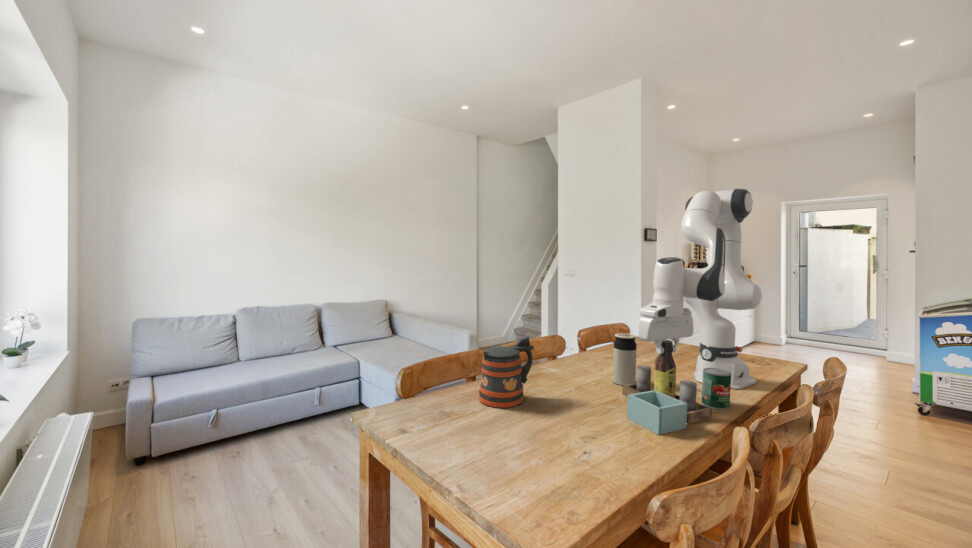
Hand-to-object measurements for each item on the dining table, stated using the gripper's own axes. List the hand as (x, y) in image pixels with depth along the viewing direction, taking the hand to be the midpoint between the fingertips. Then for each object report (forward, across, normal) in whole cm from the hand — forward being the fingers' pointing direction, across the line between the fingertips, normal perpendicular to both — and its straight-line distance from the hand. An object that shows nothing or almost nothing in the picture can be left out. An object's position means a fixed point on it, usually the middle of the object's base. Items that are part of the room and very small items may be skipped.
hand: (666, 352), depth 126 cm
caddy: (+17, +13, +9) cm, 23 cm away
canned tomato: (+17, -16, +6) cm, 24 cm away
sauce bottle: (+16, 0, 0) cm, 16 cm away
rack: (+17, 0, 0) cm, 17 cm away
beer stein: (+17, +44, -24) cm, 53 cm away
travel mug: (+17, -4, -22) cm, 28 cm away
